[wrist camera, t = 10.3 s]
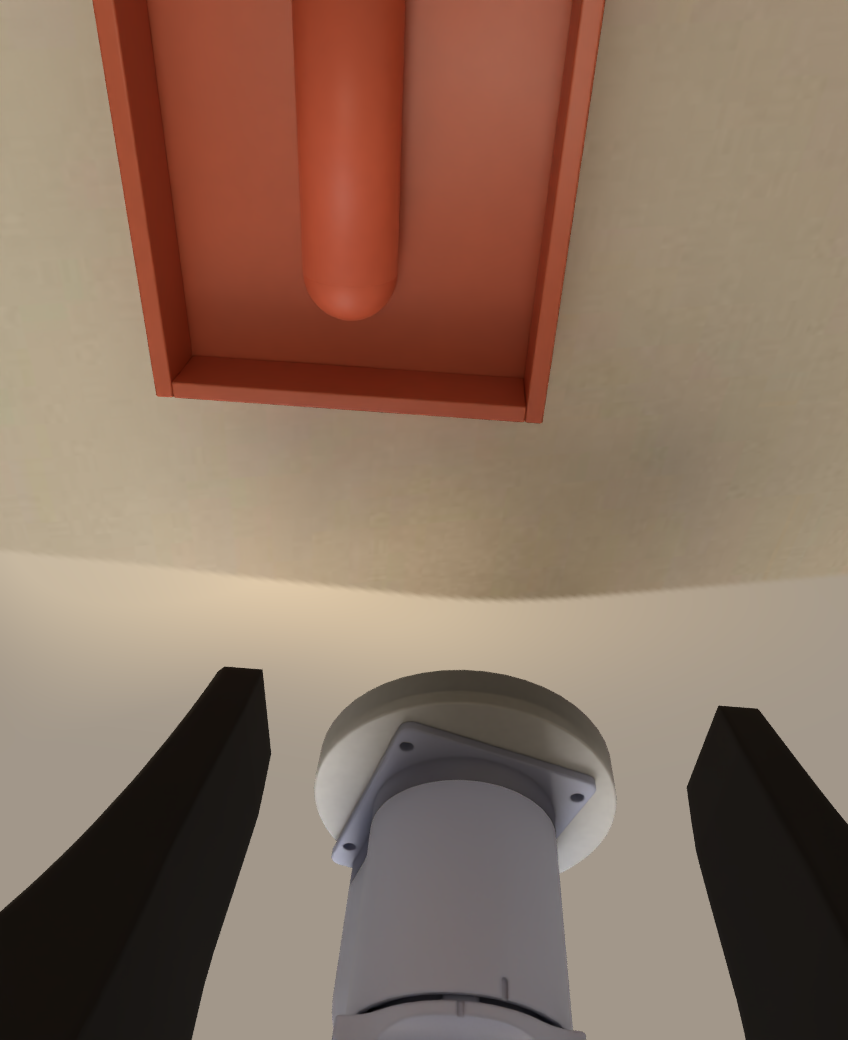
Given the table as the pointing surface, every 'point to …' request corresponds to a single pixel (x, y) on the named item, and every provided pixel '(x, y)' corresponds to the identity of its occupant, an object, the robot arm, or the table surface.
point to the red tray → (422, 214)
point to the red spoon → (349, 150)
